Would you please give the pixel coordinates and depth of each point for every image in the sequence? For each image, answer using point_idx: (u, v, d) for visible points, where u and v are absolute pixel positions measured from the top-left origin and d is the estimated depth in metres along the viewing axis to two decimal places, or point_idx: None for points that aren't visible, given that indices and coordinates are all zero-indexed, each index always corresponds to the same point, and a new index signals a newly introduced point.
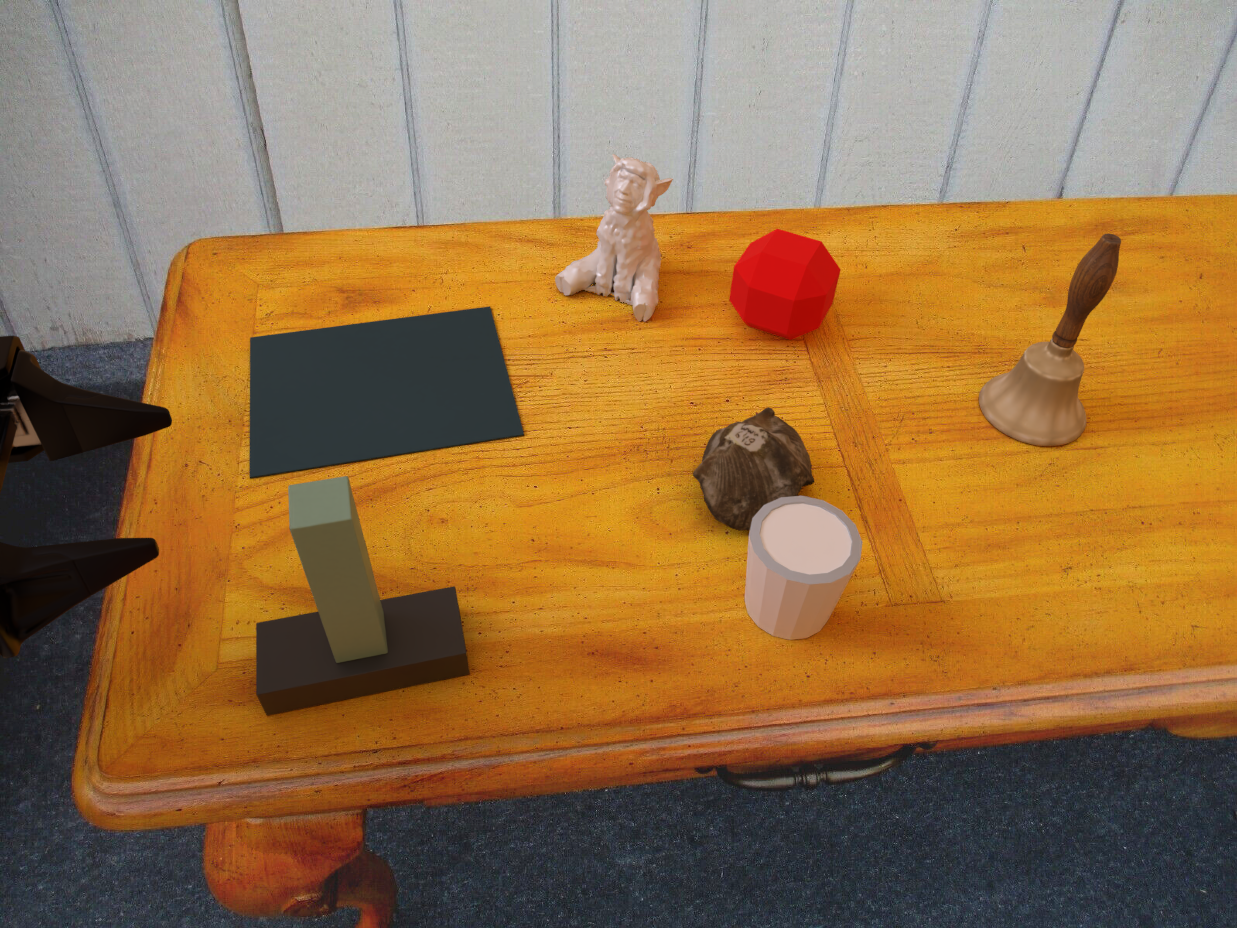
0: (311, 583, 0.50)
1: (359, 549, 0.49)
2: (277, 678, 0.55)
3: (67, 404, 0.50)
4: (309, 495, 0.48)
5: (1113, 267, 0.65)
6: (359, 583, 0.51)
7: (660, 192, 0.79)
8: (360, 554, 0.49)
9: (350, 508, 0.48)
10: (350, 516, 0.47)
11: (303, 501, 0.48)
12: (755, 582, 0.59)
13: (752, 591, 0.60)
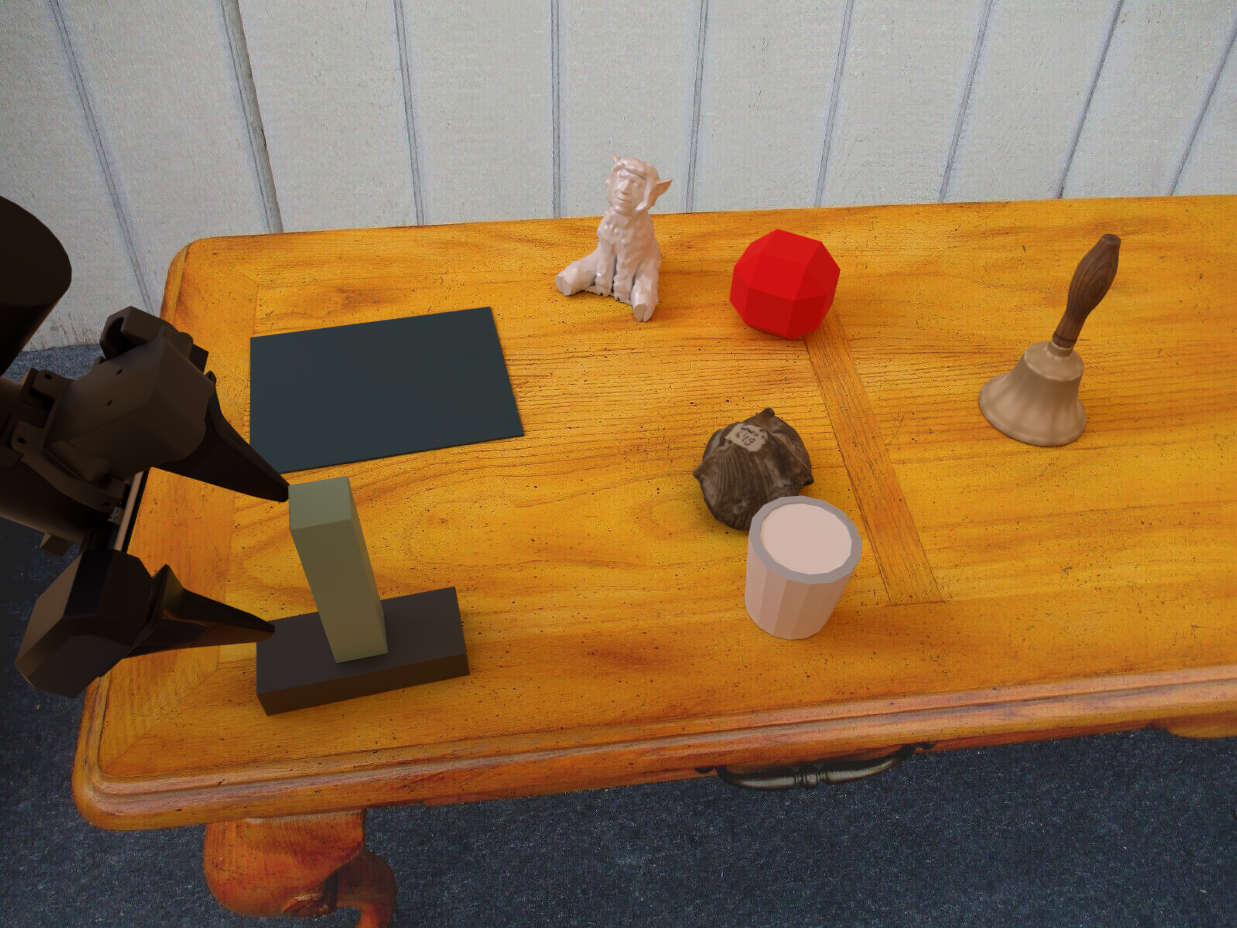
0: (311, 583, 0.50)
1: (359, 549, 0.49)
2: (277, 678, 0.55)
3: (224, 443, 0.51)
4: (309, 495, 0.48)
5: (1113, 267, 0.65)
6: (359, 583, 0.51)
7: (660, 192, 0.79)
8: (360, 554, 0.49)
9: (350, 508, 0.48)
10: (350, 516, 0.47)
11: (303, 501, 0.48)
12: (755, 582, 0.59)
13: (752, 591, 0.60)
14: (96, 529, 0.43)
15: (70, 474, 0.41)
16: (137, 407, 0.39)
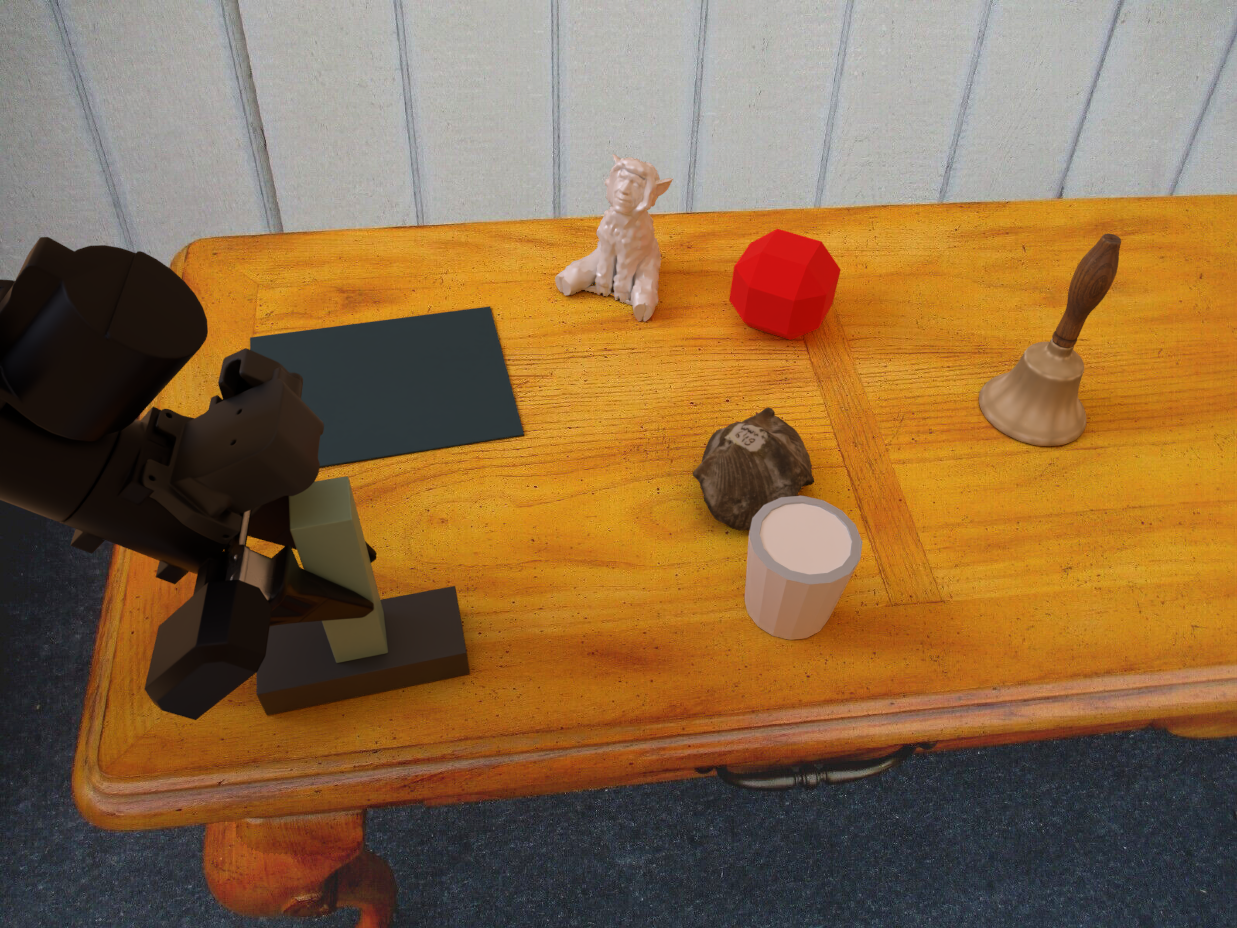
0: None
1: (359, 549, 0.49)
2: (278, 678, 0.55)
3: None
4: (309, 495, 0.48)
5: (1113, 267, 0.65)
6: (359, 584, 0.51)
7: (660, 192, 0.79)
8: (360, 554, 0.49)
9: (350, 508, 0.48)
10: (350, 516, 0.47)
11: (303, 501, 0.48)
12: (755, 582, 0.59)
13: (752, 591, 0.60)
14: (212, 558, 0.46)
15: (195, 509, 0.43)
16: (263, 447, 0.42)
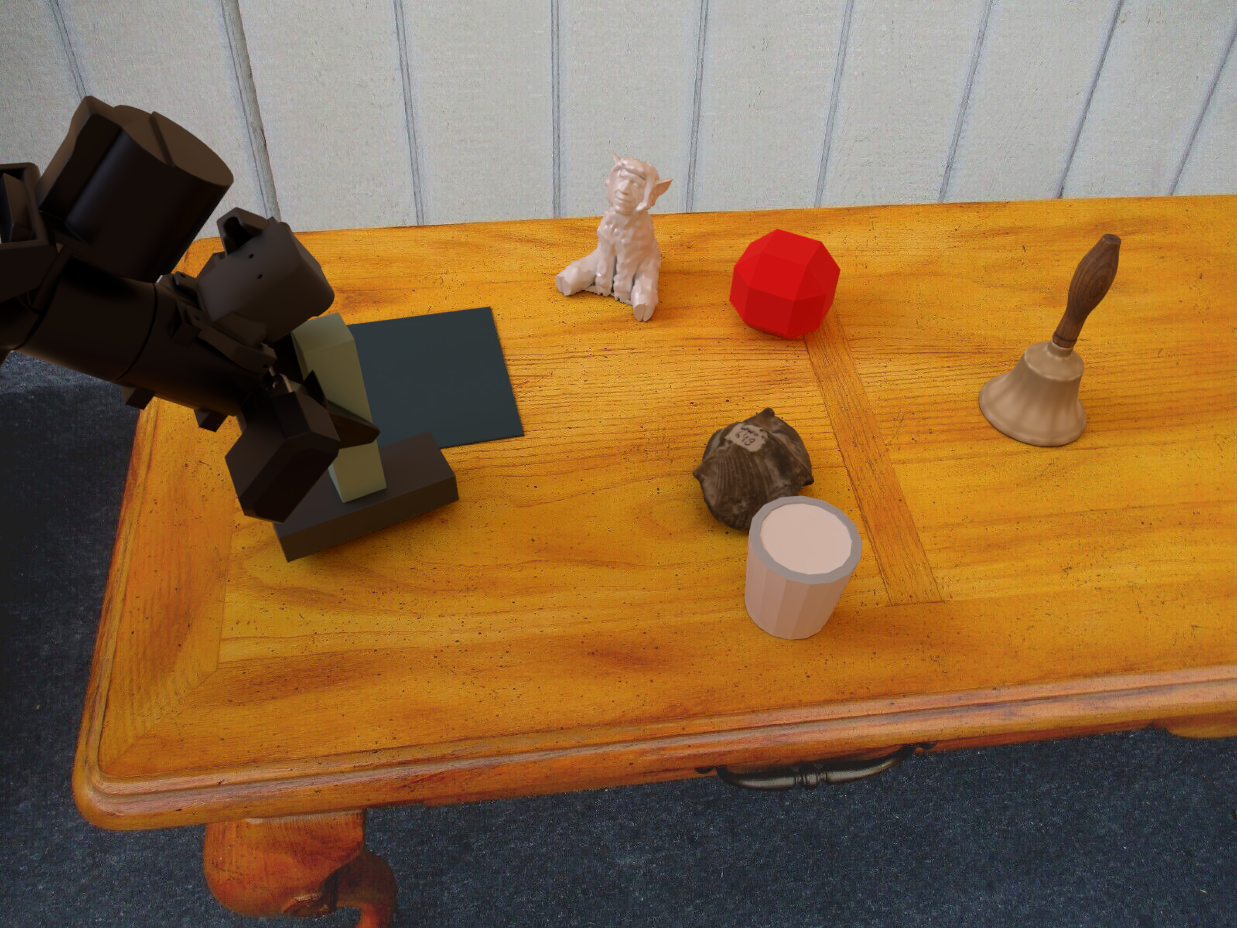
0: None
1: (360, 372, 0.57)
2: (294, 523, 0.61)
3: None
4: (310, 329, 0.55)
5: (1113, 267, 0.65)
6: (361, 410, 0.58)
7: (660, 192, 0.79)
8: (361, 377, 0.57)
9: (349, 332, 0.55)
10: (352, 337, 0.55)
11: (307, 333, 0.55)
12: (755, 582, 0.59)
13: (752, 591, 0.60)
14: (252, 394, 0.52)
15: (239, 341, 0.50)
16: (294, 269, 0.49)
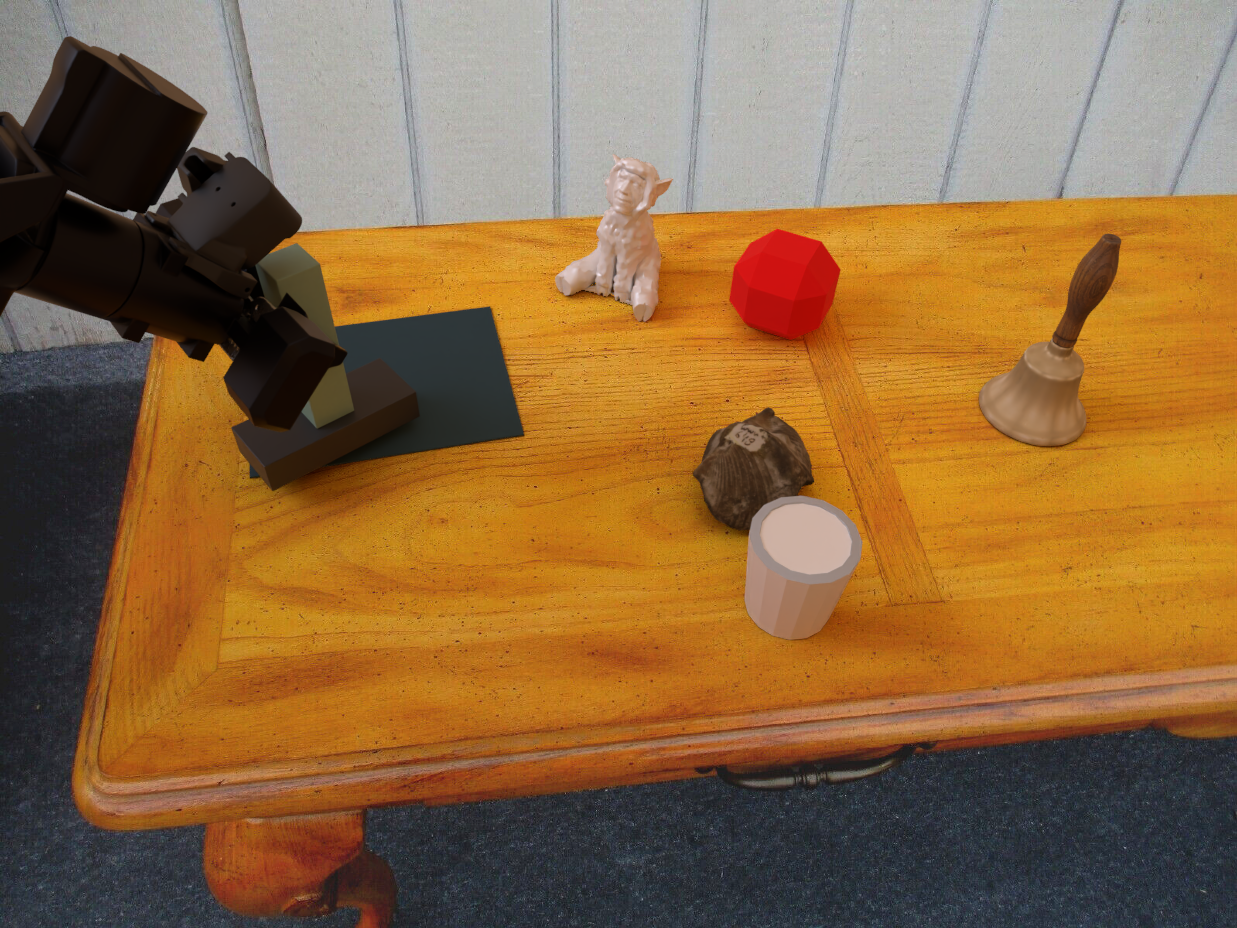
0: None
1: (327, 296, 0.61)
2: (275, 452, 0.65)
3: None
4: (275, 260, 0.59)
5: (1113, 267, 0.65)
6: (329, 334, 0.63)
7: (660, 192, 0.79)
8: (328, 301, 0.61)
9: (314, 259, 0.60)
10: (318, 262, 0.59)
11: (274, 264, 0.59)
12: (755, 582, 0.59)
13: (752, 591, 0.60)
14: (236, 319, 0.56)
15: (223, 266, 0.53)
16: (266, 192, 0.53)
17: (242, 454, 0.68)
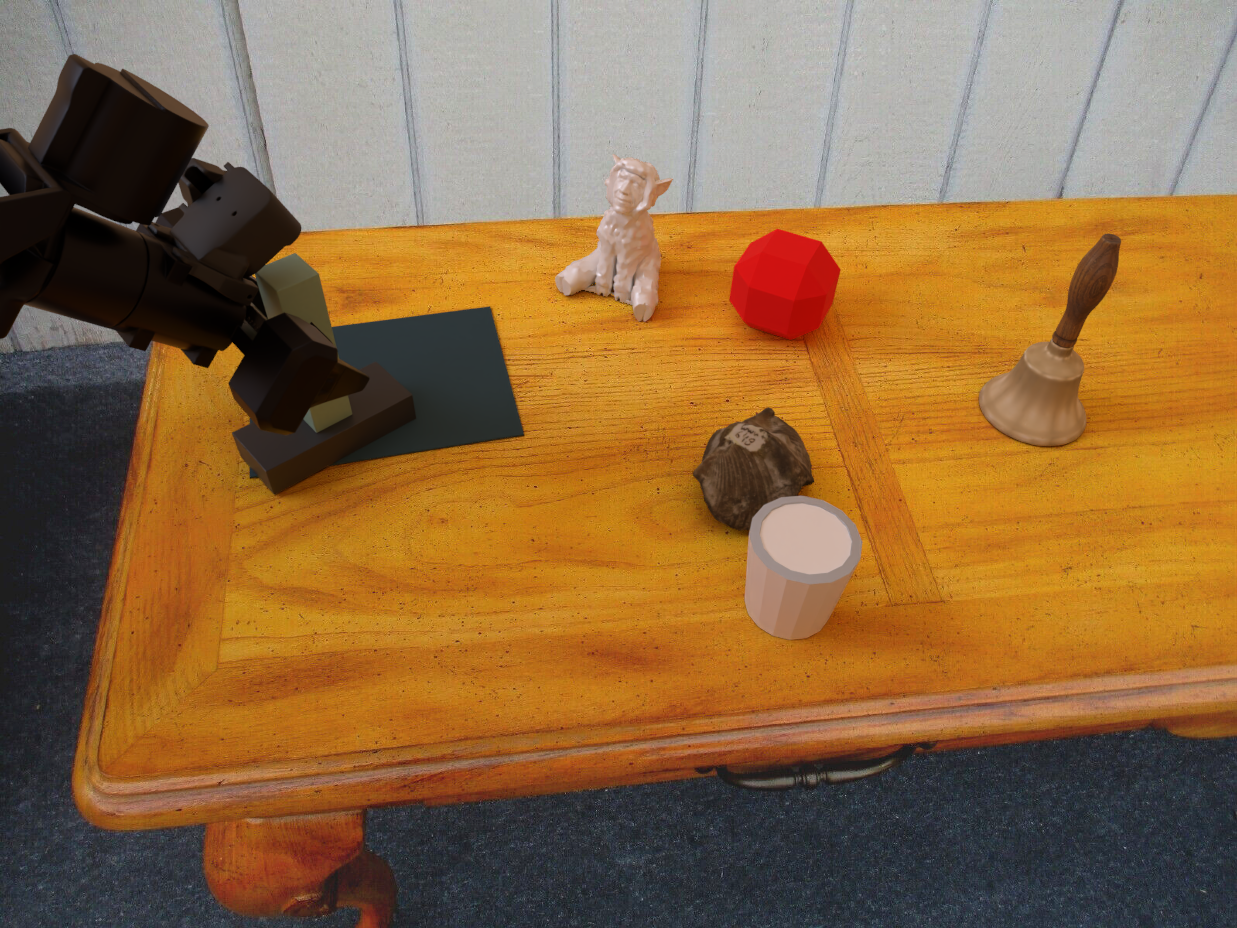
0: None
1: (326, 305, 0.62)
2: (276, 457, 0.66)
3: (249, 279, 0.65)
4: (275, 270, 0.60)
5: (1113, 267, 0.65)
6: None
7: (660, 192, 0.79)
8: (327, 310, 0.62)
9: (312, 269, 0.61)
10: (317, 272, 0.60)
11: (273, 274, 0.60)
12: (755, 582, 0.59)
13: (752, 591, 0.60)
14: (239, 325, 0.57)
15: (225, 275, 0.55)
16: (267, 201, 0.54)
17: (243, 458, 0.69)
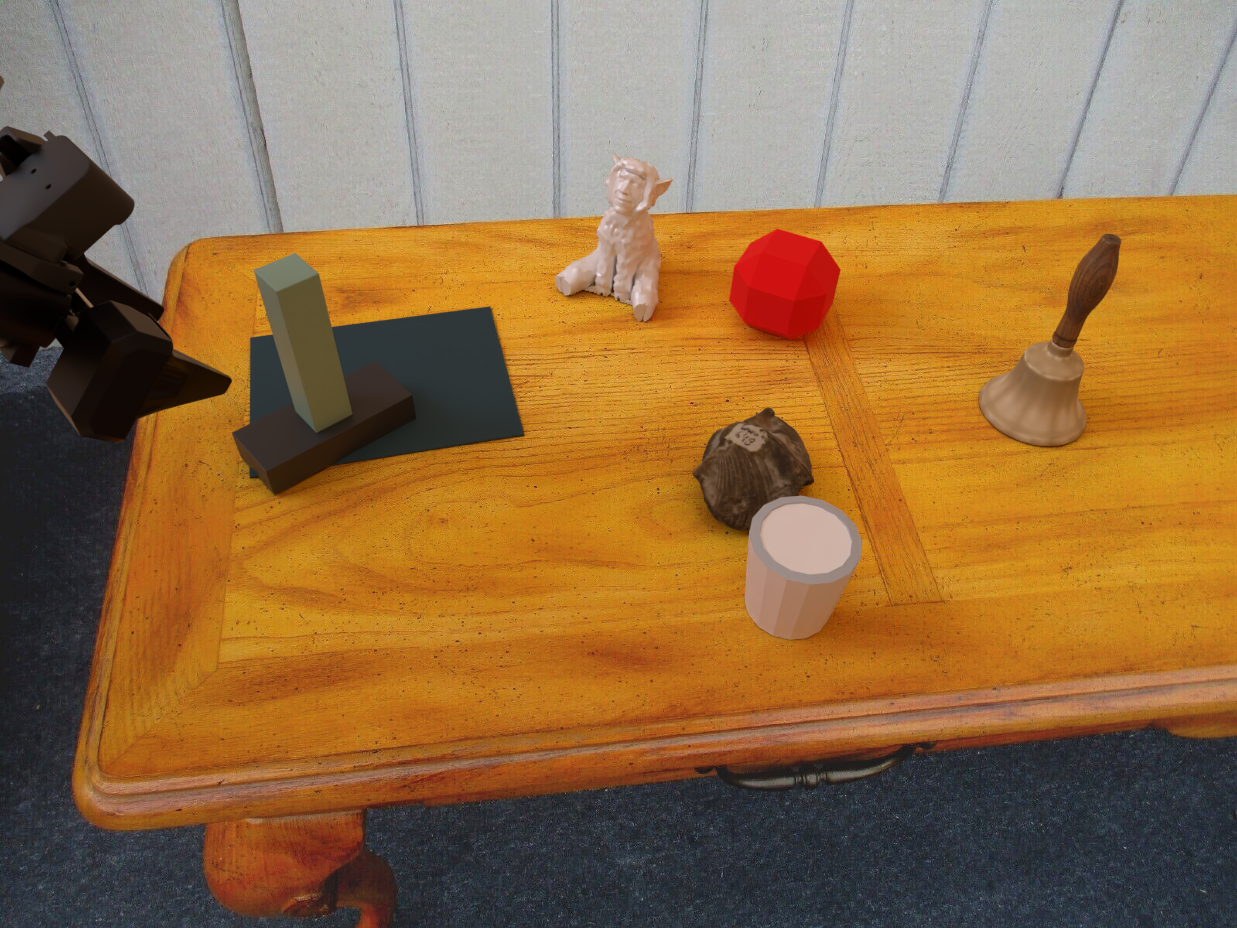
0: (294, 347, 0.62)
1: (326, 305, 0.62)
2: (276, 457, 0.66)
3: (96, 270, 0.57)
4: (275, 270, 0.60)
5: (1113, 267, 0.65)
6: (328, 341, 0.64)
7: (660, 192, 0.79)
8: (327, 310, 0.62)
9: (312, 269, 0.61)
10: (317, 272, 0.60)
11: (273, 274, 0.60)
12: (755, 582, 0.59)
13: (752, 591, 0.60)
14: (63, 317, 0.49)
15: (38, 257, 0.47)
16: (85, 171, 0.47)
17: (243, 458, 0.69)
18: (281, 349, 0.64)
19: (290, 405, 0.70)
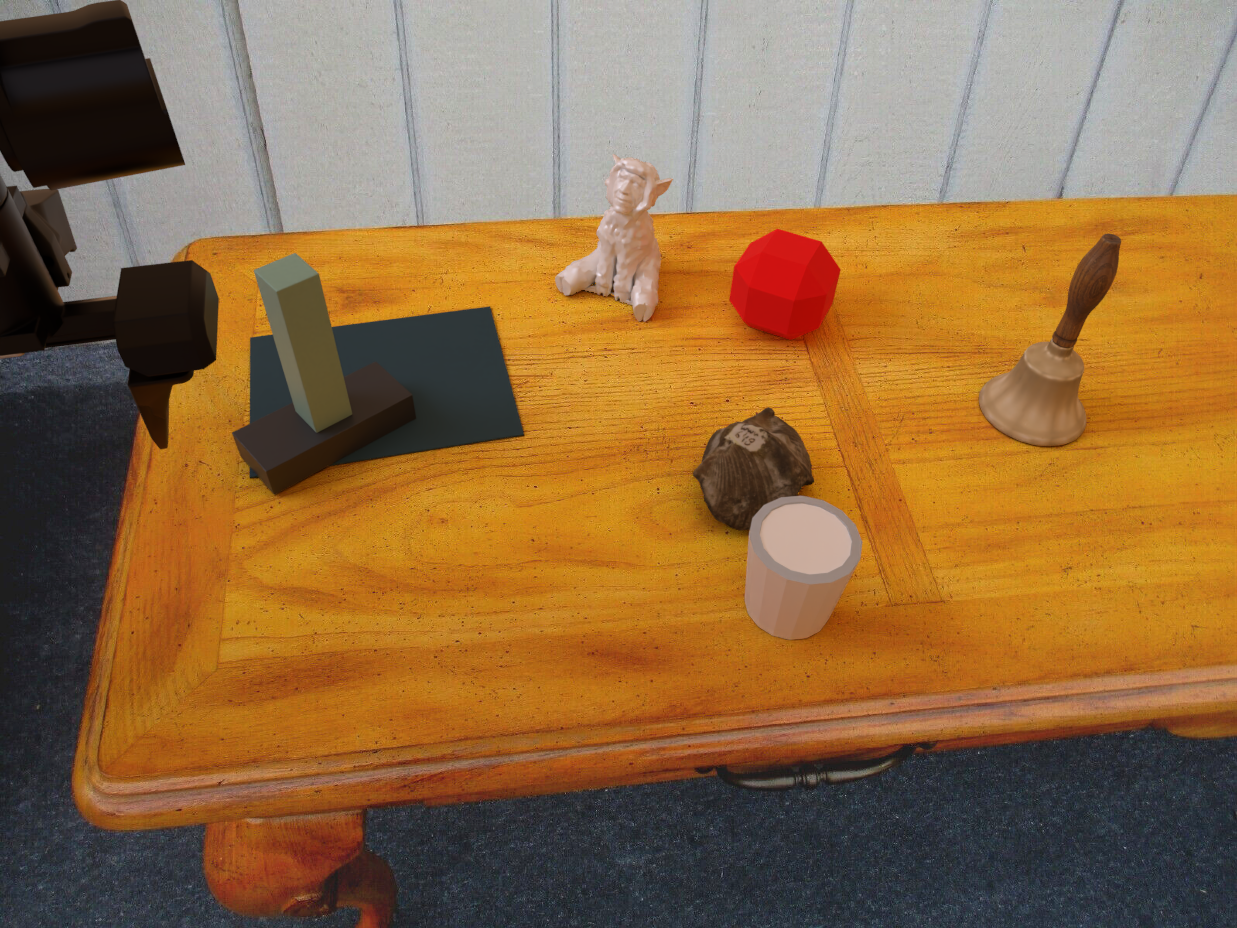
0: (294, 347, 0.62)
1: (326, 305, 0.62)
2: (276, 457, 0.66)
3: None
4: (275, 270, 0.60)
5: (1113, 267, 0.65)
6: (328, 341, 0.64)
7: (660, 192, 0.79)
8: (327, 310, 0.62)
9: (312, 269, 0.61)
10: (317, 272, 0.60)
11: (273, 274, 0.60)
12: (755, 582, 0.59)
13: (752, 591, 0.60)
14: (64, 307, 0.46)
15: None
16: (55, 189, 0.49)
17: (243, 458, 0.69)
18: (281, 349, 0.64)
19: (290, 405, 0.70)
